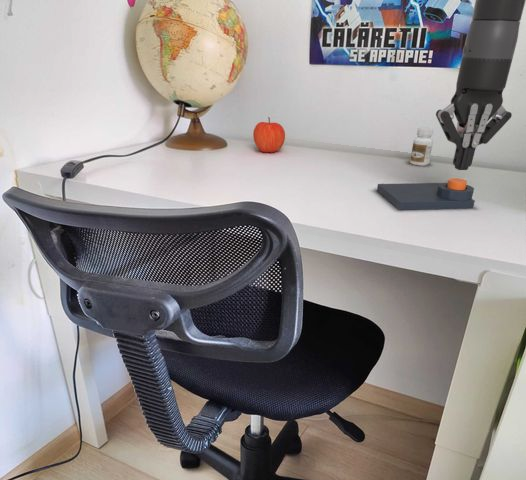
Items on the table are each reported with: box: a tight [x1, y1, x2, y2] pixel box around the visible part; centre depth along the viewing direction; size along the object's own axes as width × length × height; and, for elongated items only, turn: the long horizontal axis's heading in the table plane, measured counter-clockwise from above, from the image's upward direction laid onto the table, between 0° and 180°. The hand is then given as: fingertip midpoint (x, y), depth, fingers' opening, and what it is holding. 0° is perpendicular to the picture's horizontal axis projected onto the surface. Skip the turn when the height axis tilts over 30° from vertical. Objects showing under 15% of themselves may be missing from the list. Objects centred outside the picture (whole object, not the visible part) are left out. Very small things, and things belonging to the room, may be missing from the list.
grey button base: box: [376, 182, 476, 211], centre depth 92 cm, size 14×12×3 cm
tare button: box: [447, 177, 468, 190], centre depth 89 cm, size 3×3×2 cm
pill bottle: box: [409, 126, 434, 167], centre depth 115 cm, size 4×4×8 cm
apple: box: [252, 117, 286, 153], centre depth 123 cm, size 8×8×8 cm
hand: (461, 169), depth 87 cm, fingers closed
